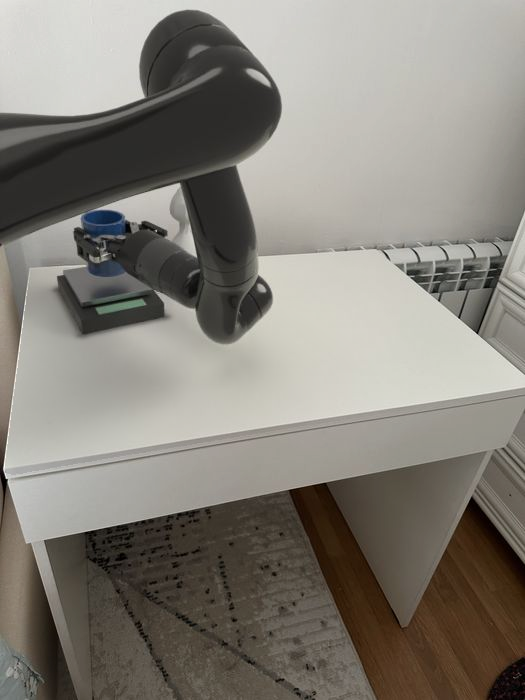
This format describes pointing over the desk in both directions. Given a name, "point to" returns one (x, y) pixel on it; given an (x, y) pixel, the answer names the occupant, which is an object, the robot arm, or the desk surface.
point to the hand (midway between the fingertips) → (96, 227)
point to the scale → (111, 310)
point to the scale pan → (103, 287)
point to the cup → (104, 224)
